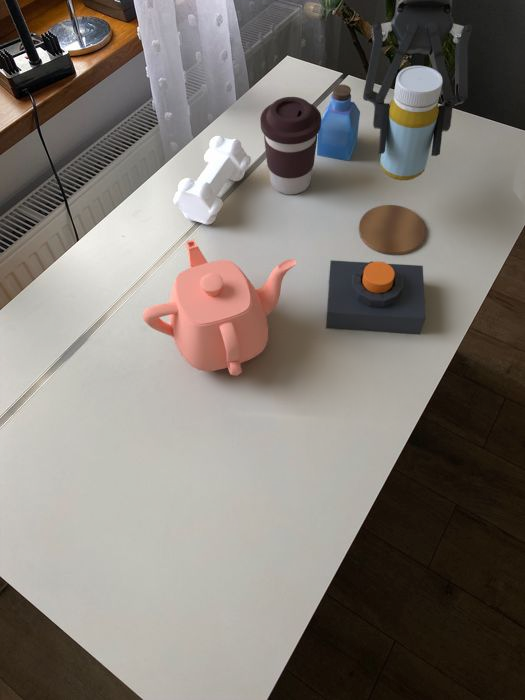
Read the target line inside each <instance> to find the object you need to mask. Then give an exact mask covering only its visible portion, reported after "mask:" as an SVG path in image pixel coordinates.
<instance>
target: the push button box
mask: <svg viewBox="0 0 525 700" xmlns="http://www.w3.org/2000/svg"><path fill="white" fill-rule="evenodd" d="M372 262H373V261H369V262H367V261H366V262H364V261H351V260H349V261H348V260H331V259H330V263H329V272H328V273H329V274H328V287H327V303H326V304H327V305H326V321H325V329H330V330H345V331H361V332H374V333H375V332H376V333H388V334H390V333H391V334H405V335H417V336H420V335H421V334H422V330H423V327H424V325H425V321H426V304H425V303H426V301H425V284H424V283H425V282H424V266H423V265H420V264H419V265H418V264H417V265H416V264H403V263H400V264H399V263H388V264H389V265H390V266H391V267H392V268H393V270H394V273H395V276H394V280H393V285H392V287H391V289H390V290H388V291H387V292H385V293H380V294H377V293H372V292H370V291H368V290H367V289H366V288H365V287H364V285H363V282H362V280H363V274H364V269H365V267H366V266H367V265H368V264H370V263H372Z"/></svg>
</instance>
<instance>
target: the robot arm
mask: <svg viewBox="0 0 525 700" xmlns="http://www.w3.org/2000/svg"><path fill="white" fill-rule="evenodd" d="M452 3H453V0H395V11H394V16H393V17H392V19H391V21H387V22H382V23H381V22H379V21H376V22H374V23H373V24H372V28H371V38H372V39H371V41H372V49H371V52H370V53H371V54H370V60H369V65H368V68H367V74H366V78H365V84H364V89H363V93H362V99H363V100H364V101H366V102H369V103H372V104H373V106H374V110H373V122H372V126H373V129H379V138H378V139H379V141H378V151H377V154H380V155H381V154H383V153H384V152H385V146H386V135H387V125H388V114H389V105H390V102H389V103H387V102H386V103H385V100H386V98H387V96H388V93H389V91H390V89H391V86H392V85H393V83H394V81H395V78H396V77H397V74H398V71H399V70H400V67H401V64H402V63H403V60H404V58H405V56H406V54H407V55H413V54H422V55H428V57H429V61H430V62H431V67H432V69H434V70H436V71H437V72H439V73H440V75H441V76H442V80H443V81H442V82H443V83H442V87H441V92H440V96H439V98H440V99H439V100H440V103H441V104H439V105H438V108H439V113H438V118H437V122H436V126H435V130H434V134H433V139H432V144H431V146H432V147H431V157H437V156H440V154H441V148H442V139H443V138H442V137H443V132H448V131H449V130H450V128H451V126H452V116H453V109H454V107H455V106H458V105H462V104H463V103H464V102H465V101H466V100H467V99H468V95H469V91H468V90H469V87H468V86H469V77H468V76H469V75H468V74H469V45H468V44H469V41H470V37H471V35H472V32H473V26H472V25H471V24H470V23H469V24H465V25H461V24H457V23H454V19H453V17H452V6H453V5H452ZM390 32H391V33H392V35H393V36H394V38H395V40H396V42H397V44H398V45H399V46H398V48H397V51H396V52H395V55H394V57H393V59H392V61H391V64H390V65H389V69H388V70H387V73H386V75H385V77H384V79H383V82H382V83H381V86H380V88H379V90H378V92H377V91H375V90H374V88H375V83H376V77H377V73H378V68H379V64H380V58H381V53H382V47H383V43H384V42H385V41H386V40H387V39H388V34H389V33H390ZM449 34H451V36H452V42H453V43H454V44H455V49H454V59H455V61H454V87H455V88H454V94H453V90H452V86H451V85H452V84H451V82H450V78H449V74H448V69H447V66H446V62H445V57H444V49H443V45H442V43H443V41H444V40H445V39H446V37H447V36H448V35H449Z"/></svg>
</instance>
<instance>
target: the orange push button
mask: <svg viewBox="0 0 525 700" xmlns="http://www.w3.org/2000/svg"><path fill="white" fill-rule="evenodd" d="M371 262H372V263H370V264H368V265H367V266H366V267H365V269H364V274H363V280H362V282H363V285H364V287H365V288H366V289H367V290H368V291H370V292H372V293H377V294H380V293H385V292H387V291H388V290H390V289H391V287H392V285H393V280H394V276H395V273H394V270H393V268H392V267H391V266H390V265H389V264H390V263H387V262H384V261H371Z"/></svg>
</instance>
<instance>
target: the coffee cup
mask: <svg viewBox="0 0 525 700" xmlns="http://www.w3.org/2000/svg"><path fill="white" fill-rule="evenodd" d="M321 119H322V114H321V112H320V110H319V109H318V108H317V107H316V106H315V105H314V104H312V103H310V102H309V101H307V100H306V99H304V98H302V97H298V96H284V97H280V98H279V99H277V100H275V101H274V102H272V103H271V104H269V105H268V106H266V107H265V108H264V110H262V112H261V115H260V120H259V121H260V129H261V132H262V134H263V135H264V137H263V139H264V141H263V142H264V149H265V158H266V166H267V169H268V173H269V181H270V185H271V186H272V188H273V189H274V190H275V191H277V193H282V194H283V195H297V194H300V193H302V192H304V191H305V190H306V189H307V188H308V187H309V186H310V183H311V181H312V180H311V179H312V173H313V168H314V164H315V158H316V153H317V141H318V132H319V131H320V128H321Z"/></svg>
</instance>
